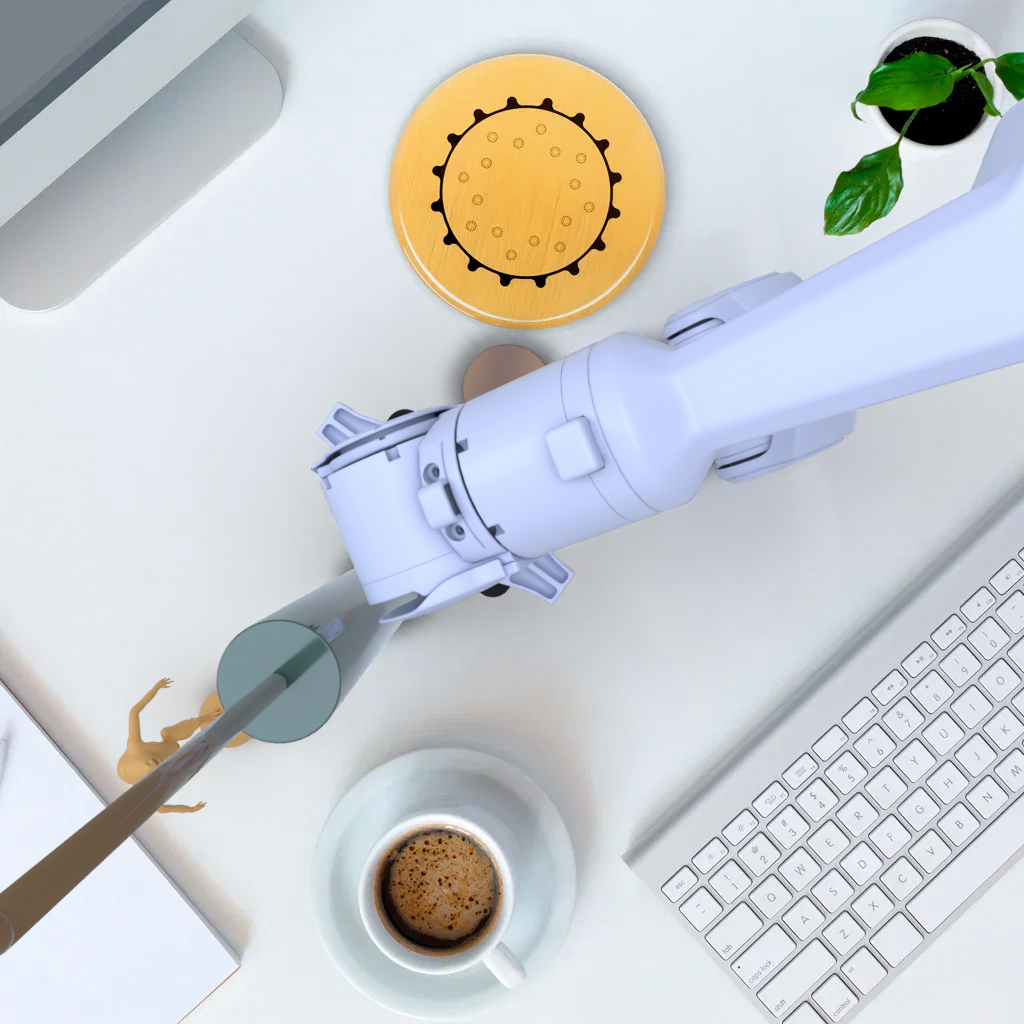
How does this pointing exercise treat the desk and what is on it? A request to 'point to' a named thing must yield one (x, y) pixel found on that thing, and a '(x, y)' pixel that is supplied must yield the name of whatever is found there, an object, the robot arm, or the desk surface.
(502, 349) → the coaster
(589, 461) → the robot arm
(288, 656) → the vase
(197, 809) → the figurine
